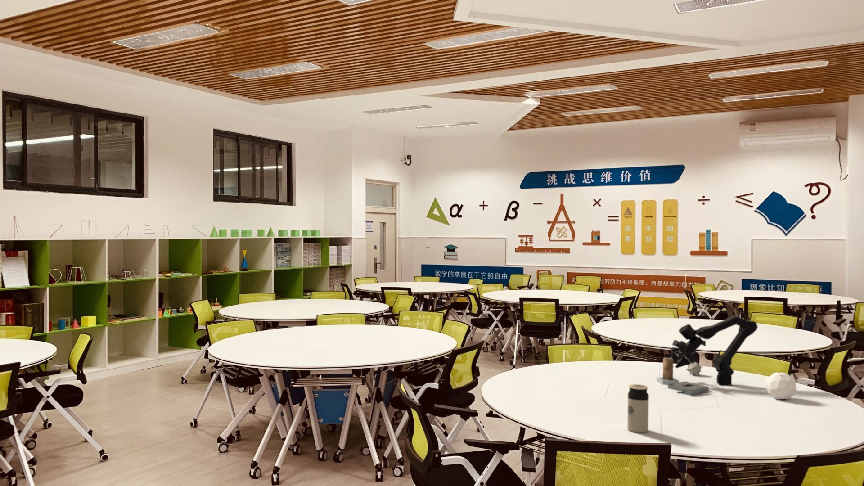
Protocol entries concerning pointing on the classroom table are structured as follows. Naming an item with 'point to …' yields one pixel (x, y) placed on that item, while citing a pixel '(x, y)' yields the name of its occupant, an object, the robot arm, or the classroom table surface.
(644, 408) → the travel mug
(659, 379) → the rest block
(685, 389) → the hub plate
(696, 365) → the spiky grey ball
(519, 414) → the classroom table surface
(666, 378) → the knob
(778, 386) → the geodesic sphere
